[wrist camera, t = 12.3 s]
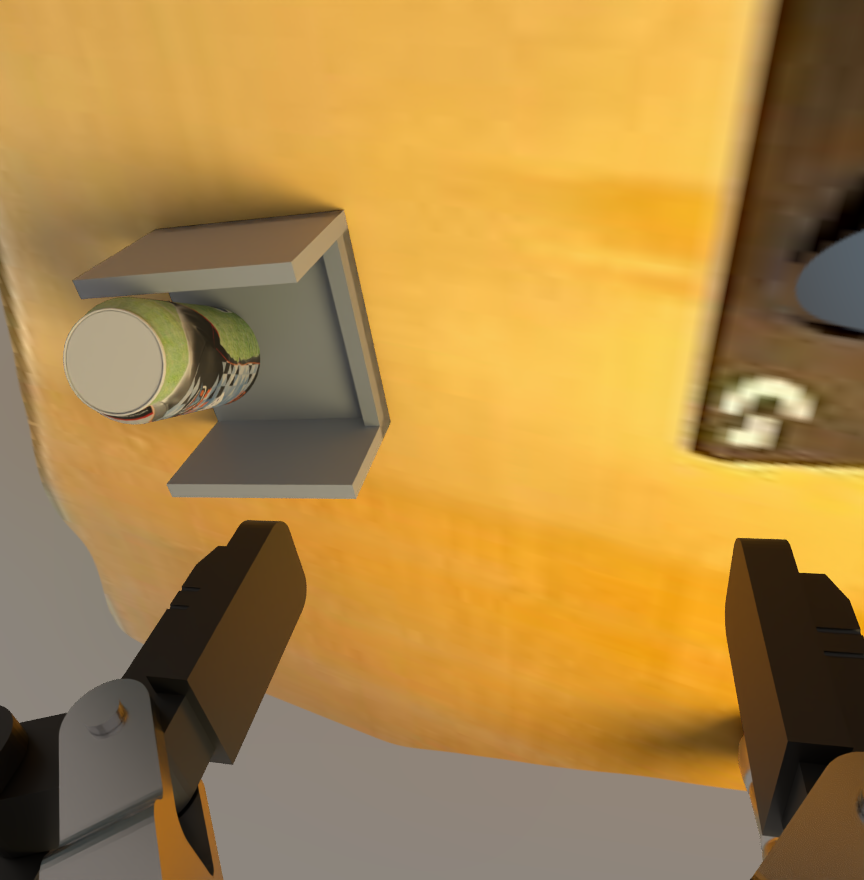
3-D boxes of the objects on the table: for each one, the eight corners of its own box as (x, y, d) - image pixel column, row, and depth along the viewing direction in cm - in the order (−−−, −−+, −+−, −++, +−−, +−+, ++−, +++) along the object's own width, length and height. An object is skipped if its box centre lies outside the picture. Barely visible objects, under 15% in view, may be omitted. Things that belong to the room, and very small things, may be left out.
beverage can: (172, 388, 44) (40, 442, 32) (181, 272, 42) (41, 287, 30) (264, 410, 43) (162, 473, 32) (278, 294, 41) (173, 317, 30)
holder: (155, 229, 41) (72, 280, 34) (343, 209, 38) (291, 261, 31) (229, 425, 48) (172, 496, 42) (390, 422, 45) (356, 498, 39)
